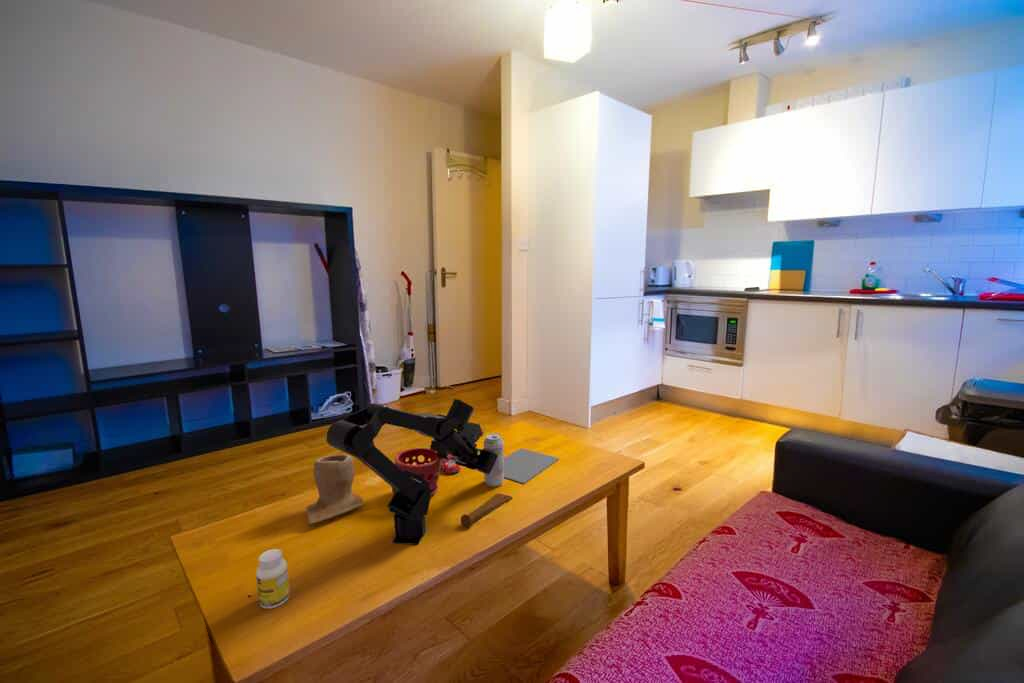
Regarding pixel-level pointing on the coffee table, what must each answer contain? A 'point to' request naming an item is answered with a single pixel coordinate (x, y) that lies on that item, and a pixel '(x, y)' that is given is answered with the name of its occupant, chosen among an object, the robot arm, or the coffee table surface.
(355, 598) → the coffee table surface
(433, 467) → the plant pot
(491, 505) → the primitive tool
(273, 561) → the supplement bottle
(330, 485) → the stone cup
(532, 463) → the mat
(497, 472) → the energy drink can
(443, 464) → the race car
